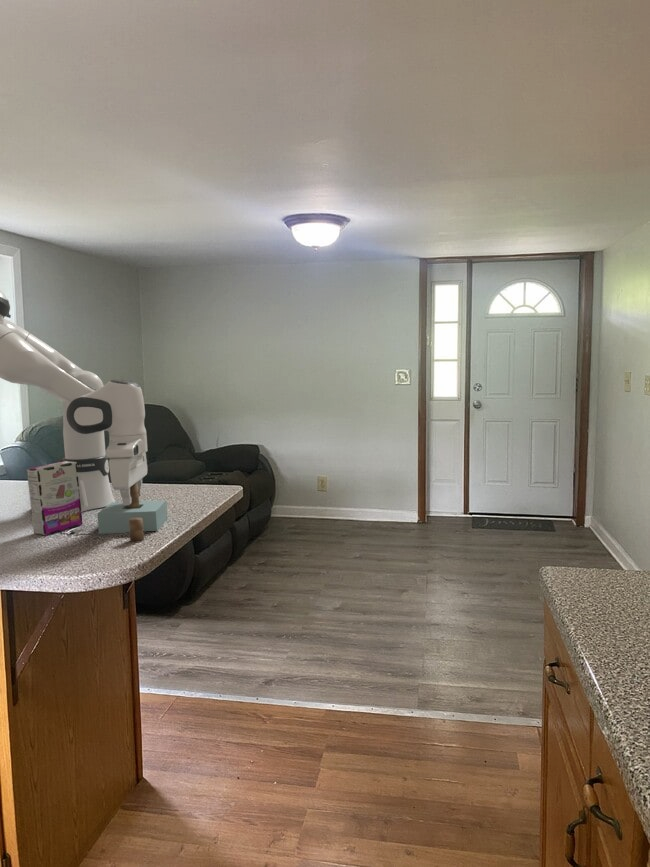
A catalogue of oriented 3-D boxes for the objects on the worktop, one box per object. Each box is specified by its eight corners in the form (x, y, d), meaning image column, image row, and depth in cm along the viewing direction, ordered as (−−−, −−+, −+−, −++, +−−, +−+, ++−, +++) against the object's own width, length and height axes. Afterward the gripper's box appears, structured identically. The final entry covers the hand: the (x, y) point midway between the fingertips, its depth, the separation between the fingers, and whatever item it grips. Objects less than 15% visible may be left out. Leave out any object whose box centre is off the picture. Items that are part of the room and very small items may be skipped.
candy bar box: (70, 523, 170) (65, 460, 168) (83, 525, 167) (78, 461, 165) (31, 533, 160) (25, 467, 158) (44, 536, 158) (38, 469, 156)
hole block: (98, 533, 158) (97, 513, 157) (113, 521, 170) (111, 502, 169) (157, 531, 158) (155, 511, 158) (167, 519, 170) (166, 500, 170)
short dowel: (129, 542, 150) (127, 520, 149) (132, 538, 153) (130, 517, 152) (142, 541, 150) (140, 520, 149) (145, 538, 153) (143, 517, 152)
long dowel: (127, 528, 163) (123, 480, 161) (130, 524, 166) (126, 478, 164) (139, 527, 163) (135, 480, 161) (142, 524, 166) (138, 477, 164)
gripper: (127, 440, 172) (130, 492, 174) (103, 452, 152) (107, 510, 153) (151, 439, 172) (154, 491, 174) (130, 451, 152) (134, 509, 153)
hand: (132, 500), depth 163 cm, fingers open, 8 cm apart
